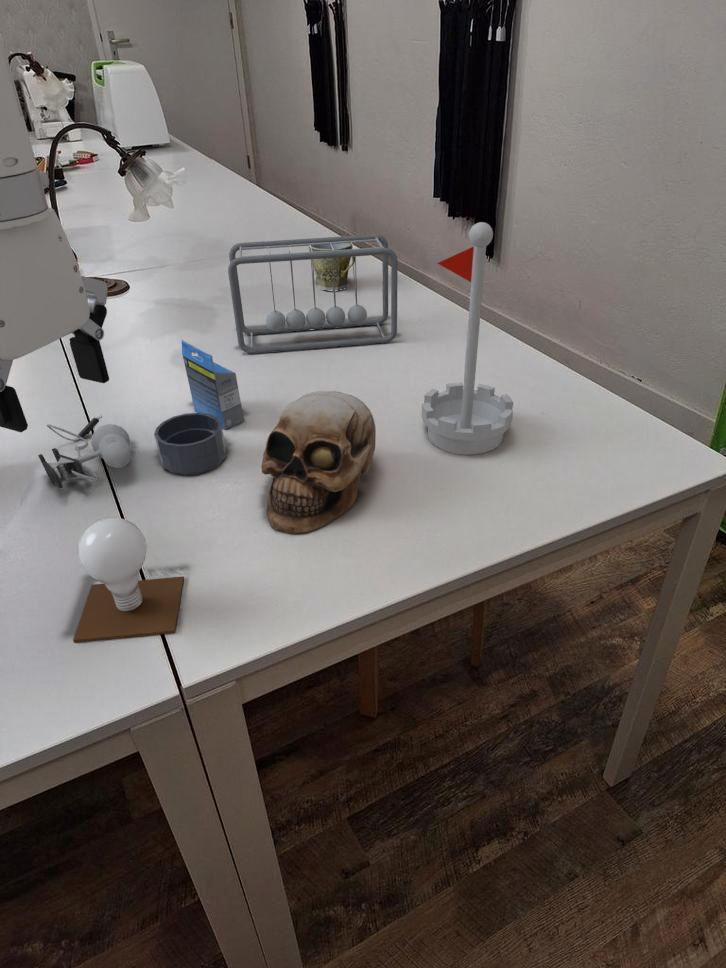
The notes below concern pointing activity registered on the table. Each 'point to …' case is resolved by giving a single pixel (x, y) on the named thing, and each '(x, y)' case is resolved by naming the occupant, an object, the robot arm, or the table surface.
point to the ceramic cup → (325, 267)
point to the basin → (190, 443)
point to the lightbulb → (115, 558)
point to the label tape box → (212, 387)
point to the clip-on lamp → (106, 445)
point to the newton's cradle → (314, 315)
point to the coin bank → (317, 459)
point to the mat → (131, 612)
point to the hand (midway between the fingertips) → (56, 402)
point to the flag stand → (468, 373)
